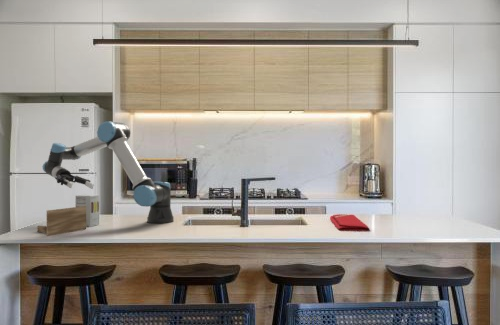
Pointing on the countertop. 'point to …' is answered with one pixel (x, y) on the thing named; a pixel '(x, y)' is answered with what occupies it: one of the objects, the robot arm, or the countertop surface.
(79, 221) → the box
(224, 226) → the countertop surface
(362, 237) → the countertop surface
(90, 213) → the supplement box
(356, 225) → the dish drying mat
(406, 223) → the countertop surface
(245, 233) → the countertop surface
